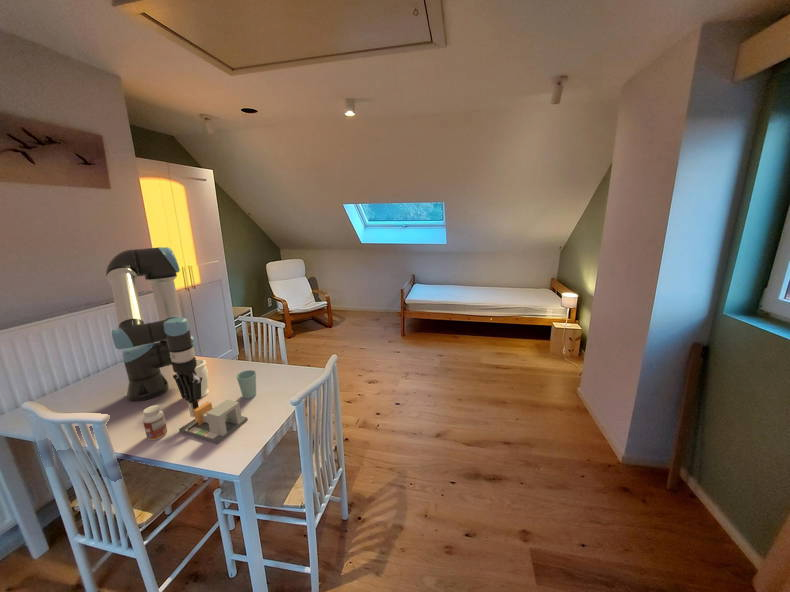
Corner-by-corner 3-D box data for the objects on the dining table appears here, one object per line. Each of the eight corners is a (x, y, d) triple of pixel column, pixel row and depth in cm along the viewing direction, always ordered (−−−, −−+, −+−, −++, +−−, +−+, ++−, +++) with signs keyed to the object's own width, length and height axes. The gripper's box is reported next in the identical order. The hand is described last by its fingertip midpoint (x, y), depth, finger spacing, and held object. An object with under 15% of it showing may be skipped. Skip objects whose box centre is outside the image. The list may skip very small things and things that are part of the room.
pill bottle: (145, 436, 118) (138, 409, 115) (164, 427, 123) (158, 401, 120) (150, 443, 114) (143, 416, 112) (170, 434, 119) (163, 408, 116)
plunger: (186, 430, 118) (183, 416, 117) (210, 415, 127) (207, 401, 126) (205, 436, 115) (202, 422, 113) (229, 420, 124) (226, 406, 122)
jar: (183, 403, 138) (176, 372, 134) (185, 392, 147) (179, 362, 143) (211, 396, 143) (205, 366, 139) (211, 386, 152) (206, 357, 148)
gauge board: (179, 431, 120) (174, 409, 118) (212, 410, 133) (208, 390, 130) (217, 443, 113) (212, 420, 111) (247, 420, 126) (244, 398, 124)
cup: (259, 397, 141) (255, 376, 139) (240, 402, 138) (236, 380, 136) (258, 389, 148) (255, 368, 145) (240, 393, 145) (236, 372, 142)
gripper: (161, 361, 119) (174, 417, 124) (186, 366, 114) (198, 424, 120) (181, 352, 125) (192, 406, 131) (205, 357, 121) (215, 412, 127)
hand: (195, 414), depth 126 cm, fingers closed
